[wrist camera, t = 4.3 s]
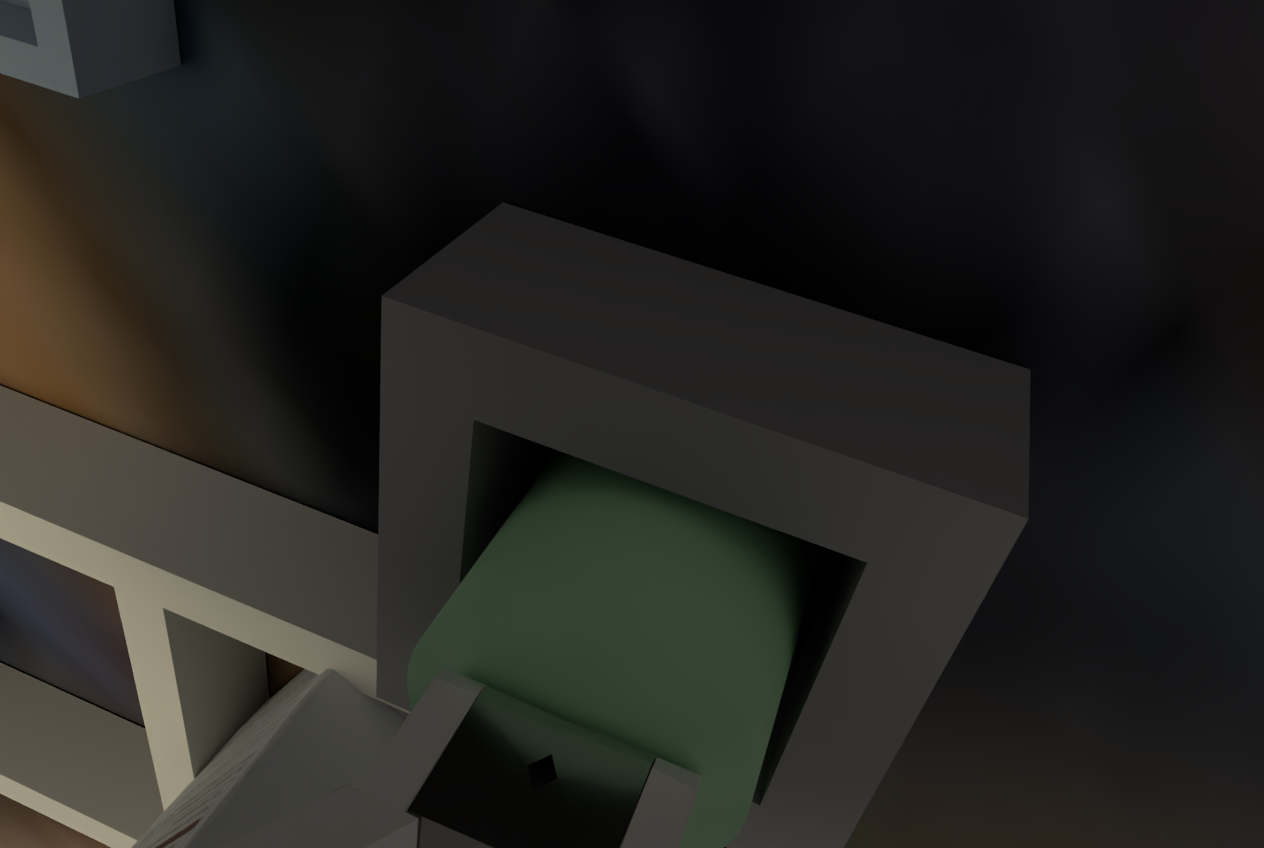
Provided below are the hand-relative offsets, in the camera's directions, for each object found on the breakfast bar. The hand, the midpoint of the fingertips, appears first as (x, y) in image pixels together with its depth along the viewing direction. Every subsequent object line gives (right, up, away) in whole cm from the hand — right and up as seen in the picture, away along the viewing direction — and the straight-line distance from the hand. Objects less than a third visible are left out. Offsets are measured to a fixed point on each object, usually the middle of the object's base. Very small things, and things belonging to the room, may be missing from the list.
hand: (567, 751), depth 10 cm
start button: (+1, +2, +3) cm, 4 cm away
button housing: (+2, +3, +4) cm, 5 cm away
